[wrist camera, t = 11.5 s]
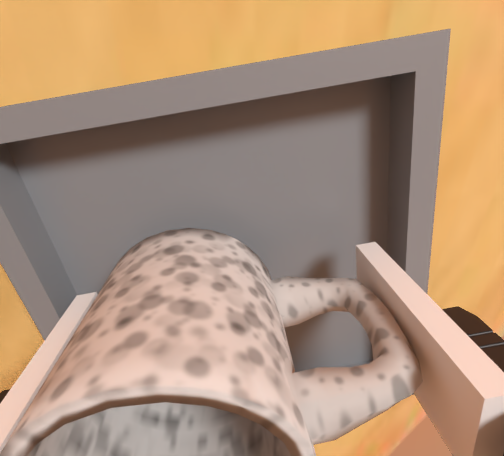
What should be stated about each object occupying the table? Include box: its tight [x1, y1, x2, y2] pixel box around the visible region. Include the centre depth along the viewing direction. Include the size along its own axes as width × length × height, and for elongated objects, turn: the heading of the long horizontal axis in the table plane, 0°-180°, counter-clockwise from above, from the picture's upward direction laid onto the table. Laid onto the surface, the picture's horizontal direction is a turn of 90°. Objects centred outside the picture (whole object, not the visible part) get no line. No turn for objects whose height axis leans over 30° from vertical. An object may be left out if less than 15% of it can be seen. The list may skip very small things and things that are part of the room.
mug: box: [0, 228, 423, 456], centre depth 10 cm, size 10×7×7 cm
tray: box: [0, 29, 451, 395], centre depth 14 cm, size 16×16×2 cm
